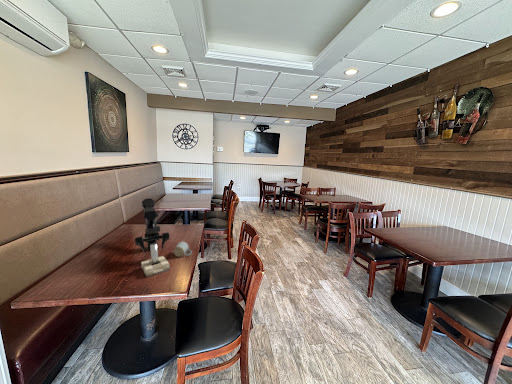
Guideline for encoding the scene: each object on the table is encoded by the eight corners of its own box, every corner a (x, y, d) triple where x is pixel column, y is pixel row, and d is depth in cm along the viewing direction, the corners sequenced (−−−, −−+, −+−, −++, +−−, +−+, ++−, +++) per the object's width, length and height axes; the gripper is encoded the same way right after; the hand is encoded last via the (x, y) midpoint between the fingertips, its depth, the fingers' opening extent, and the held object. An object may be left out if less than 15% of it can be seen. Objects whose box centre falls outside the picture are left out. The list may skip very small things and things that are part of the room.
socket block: (141, 268, 121) (140, 261, 120) (163, 261, 128) (162, 255, 128) (146, 277, 112) (146, 270, 111) (169, 269, 119) (169, 263, 119)
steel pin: (150, 268, 119) (148, 245, 117) (155, 265, 122) (154, 242, 120) (154, 269, 118) (153, 246, 115) (160, 266, 121) (158, 243, 118)
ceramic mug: (172, 257, 134) (172, 246, 133) (177, 251, 142) (177, 241, 141) (189, 257, 134) (189, 246, 133) (193, 252, 142) (193, 241, 141)
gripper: (133, 224, 120) (134, 249, 113) (168, 220, 129) (171, 243, 122) (134, 232, 129) (136, 257, 121) (167, 228, 138) (170, 250, 130)
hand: (154, 251), depth 123 cm, fingers open, 9 cm apart
